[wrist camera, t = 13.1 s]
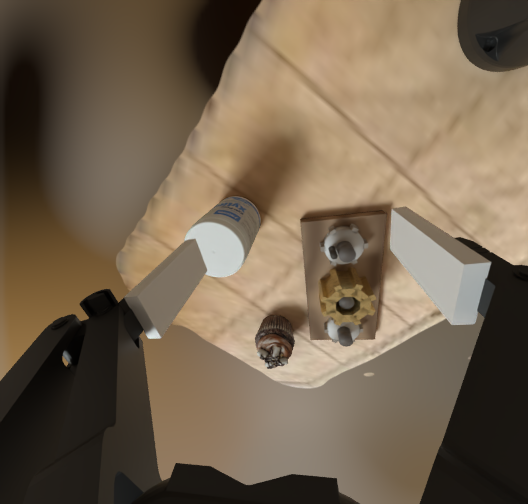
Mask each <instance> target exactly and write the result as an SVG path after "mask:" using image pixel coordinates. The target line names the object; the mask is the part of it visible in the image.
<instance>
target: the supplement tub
mask: <svg viewBox="0 0 528 504" xmlns="http://www.w3.org/2000/svg"><path fill="white" fill-rule="evenodd" d="M260 224H261V218H260V214H259V211H258V209H257V208H256V206H255V205H254V204H253V203H252V202H251V201H249V200H248V199H246V198H243V197H239V196H232V197H228V198H226V199H224V200H222V201H221V202H220V203H219V204H217V205H216V206H215V207H214V208H213V209H211V210H210V211H209V212H208V213H207V214H205V215H204V216H203V217H202V218H201V219H199V220H198V221H197V222H196V223H195V224H194V225H193V226H192V227H191V228H190V230H189V231H188V232H187V234H186V236H185V240H184V242H185V241H186V240H190V239H196V241H197V244H198V246H199V249H200V252H201V254H202V257H203V260H204V262H205V265H206V268H207V272H206V273H205V274H206V275H209V276H213V277H226V276H230V275H232V274H234V273H236V272H237V271H238V270H239V269H240V268H241V266H242V265H243V263H244V262H245V260H246V258H247V256H248V254H249V251H250V249H251V247H252V244H253V242H254V240H255V237H256V235H257V233H258V231H259V228H260Z"/></svg>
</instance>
